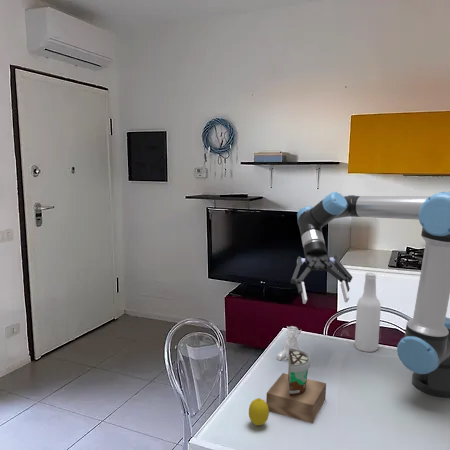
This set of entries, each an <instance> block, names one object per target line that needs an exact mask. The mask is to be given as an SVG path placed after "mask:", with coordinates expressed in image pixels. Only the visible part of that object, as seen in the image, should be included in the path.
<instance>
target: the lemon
mask: <svg viewBox="0 0 450 450" xmlns="http://www.w3.org/2000/svg"><path fill="white" fill-rule="evenodd" d="M269 414H270V411H269V409H268V405H267V403H266V401H265V400H264V399H262V398H259V397H258V398H255V399H253V400H252V401H251V402H250V404H249V408H248V417H249V420H250V422H252V423H253V424H254V425H255V426H256V425H257V426H261V425H264V424H265V423H267V422H268V419H269V416H270V415H269Z"/></svg>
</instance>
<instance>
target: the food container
mask: <svg viewBox="0 0 450 450" xmlns="http://www.w3.org/2000/svg"><path fill="white" fill-rule="evenodd" d="M311 366H312V365H311V358H310V357H309V355H308V353H306V352H305V351H303V350H301V349H299V350H297V349H291V348H289V360H288V367H287V368H288V372H287V374H288V385H289V395H290V396H296V395H300V394H303V393H304V392H305V390H306V382H307V379H308V373H309V368H311Z"/></svg>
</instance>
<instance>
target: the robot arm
mask: <svg viewBox="0 0 450 450" xmlns="http://www.w3.org/2000/svg"><path fill="white" fill-rule="evenodd" d="M296 217H297V225H298V229H299V233H300V238H301V243H302V247H303V253H304V258H303V257H301V256H300V255H299V256H297V259H296V267H295V269H294V272H293V274H292V277H291V279H290V284H292V285H295V286H296V287H297V293H298V294H301V299H302V304H304V305H305V304H306V303H307V301H308V296H307V292H306V286H305V282H304V280H305V278H306V277H308V274H309V273H310V272H311V271H316V272H317V271H325V272H326V273H329V274H330V275H331V276H333V277H334V278H335V279H336V280H337V281H339V282H340V289H341V292H342V297H343V300H344V303H348V301H349V300H350V296H349V292H350V286H349V283H351V282H352V280H353V275H352V274H351V273H350V272H349V271H348V270H347V268H346V267H345V266H344V265H343V264H342V263H341V261H340V260H339V257H338V255H334V256H333V257H332V256H331V257H329V256H328V251H327V247H326V242H325V239H324V235H323V229H322V228H323V227H325V226H326V225H328V224H329V223H330V222H332V220H334V219H342V218H349V217H350V218H379V219H398V220H416V221H417V220H418V221H419V222H418V223H420V225H421V227H422V228H421V235H420V236H421V238H422V239H423V240H424V241H425V244H424V249H423V251H424V252H423V257H422V262H421V263H422V264H421V268H420V269H421V270H420V275H419V281H418V287H417V288H418V289H417V292H416V293H417V294H416V298H415V305H414V310H413V315H412V316H413V317H412V318H410V319H409V320H407V321H406V327H405V331H404V336H403V337H402V338H401V339H400V341H399V342H398V344H397V346H396V347H397V348H396V353H397V357H398V359H399V361H401V363H402V365H403V366H404V367H405V368H406V369H408V370H409V371H410V372H412V374H411V375H412V377H411V383H412V385H413V386H414V387H415V388H417V389H418V390H419V391H421V392H423V393H426V394H429V395H432V396H437V397H440V398H441V397H442V398H450V318H449V317H447V312H448V307H449V301H450V191H441V192H437V193H434V194H432V195H431V196H430V195H428V196H424V195H423V196H422V195H421V196H419V195H418V196H417V195H416V196H414V195H412V196H409V195H406V196H405V195H400V196H399V195H398V196H397V195H395V196H394V195H387V196H386V195H355V194H354V195H353V194H352V195H350V194H349V195H345V196H344V195H342V193H339V192H338V191H332V192H330V193H329V194H328V195H326V196H324V198H323V199H321V201H319V202H318V203H317V204H316V205H315V206H311V205H309V206H308V205H307V206H305V207H302V208H300V209H298V211H297V213H296ZM304 263H305V265H306V268H305V269H304V270H303V272H302V273H301V274H300V276H299V277H298V274H299V272H300V268H301V266H302V265H304ZM333 265H334V266H333ZM297 277H298V278H297Z"/></svg>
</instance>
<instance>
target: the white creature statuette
mask: <svg viewBox="0 0 450 450" xmlns="http://www.w3.org/2000/svg"><path fill="white" fill-rule="evenodd" d="M286 328H287V330H286V336H287V338H286V340H285V342H284V343H285V344H284V347H283V350H281V351H280V352H278V353H277V355H276V357H275V358H276V360H278V361H281V360H285V361H287V360H288V361H289V348H291V349H297V350H300V347H299V341H298V339H297V338H298V337H299V335H300V334H302V333H301V332H302V331H303V330H302V329H300V330H299V328H298V327H297V326H293V325H291V326H286Z"/></svg>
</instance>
